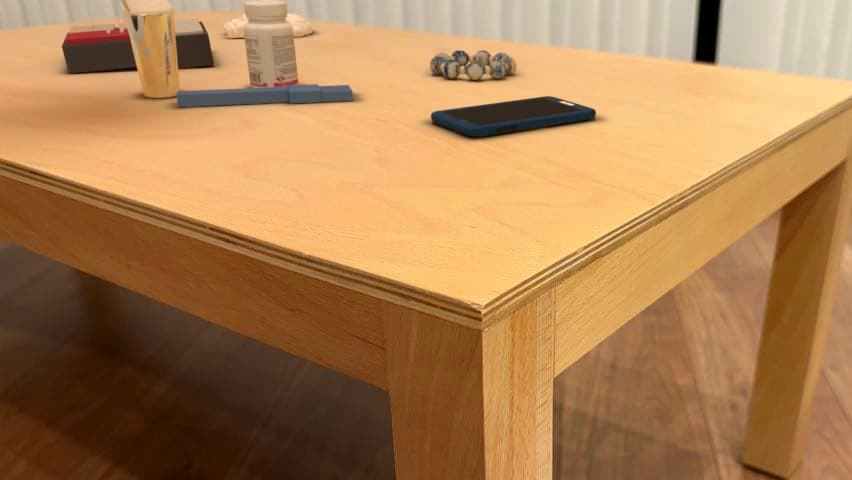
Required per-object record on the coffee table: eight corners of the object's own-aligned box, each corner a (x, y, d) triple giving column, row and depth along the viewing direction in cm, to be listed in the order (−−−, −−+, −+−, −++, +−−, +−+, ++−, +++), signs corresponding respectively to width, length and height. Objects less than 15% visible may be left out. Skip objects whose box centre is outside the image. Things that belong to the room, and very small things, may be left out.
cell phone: (599, 117, 79) (599, 109, 79) (471, 138, 71) (471, 129, 71) (551, 102, 84) (551, 95, 84) (427, 120, 77) (427, 112, 76)
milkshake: (119, 98, 83) (99, -12, 78) (163, 88, 87) (146, -17, 83) (154, 103, 81) (135, -9, 77) (197, 93, 85) (181, -14, 81)
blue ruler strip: (177, 109, 79) (175, 96, 79) (179, 102, 82) (177, 89, 81) (353, 100, 84) (352, 88, 83) (349, 94, 86) (348, 82, 86)
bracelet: (532, 72, 99) (532, 55, 98) (480, 85, 92) (480, 66, 91) (465, 63, 104) (465, 46, 103) (411, 74, 97) (411, 56, 96)
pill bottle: (300, 83, 91) (292, -1, 88) (296, 92, 87) (288, 4, 83) (253, 83, 90) (243, -1, 87) (247, 93, 86) (237, 4, 82)
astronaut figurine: (223, 31, 123) (220, 9, 122) (308, 28, 127) (306, 7, 126) (226, 40, 116) (223, 16, 115) (316, 37, 120) (314, 14, 119)
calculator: (65, 24, 100) (200, 14, 105) (75, 62, 102) (207, 50, 107) (58, 38, 91) (207, 26, 96) (69, 79, 93) (214, 65, 98)
